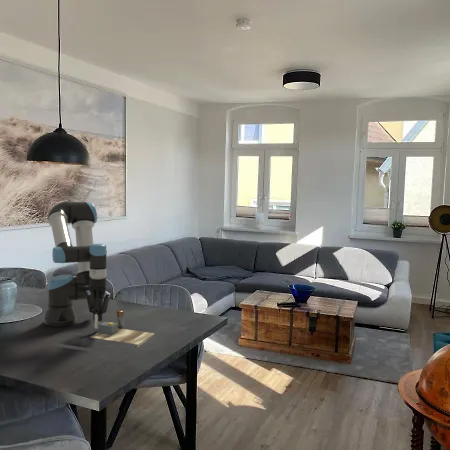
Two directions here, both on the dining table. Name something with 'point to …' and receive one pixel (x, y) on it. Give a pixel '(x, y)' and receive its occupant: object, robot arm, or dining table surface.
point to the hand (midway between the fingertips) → (97, 327)
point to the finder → (108, 328)
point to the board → (126, 336)
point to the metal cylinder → (120, 318)
